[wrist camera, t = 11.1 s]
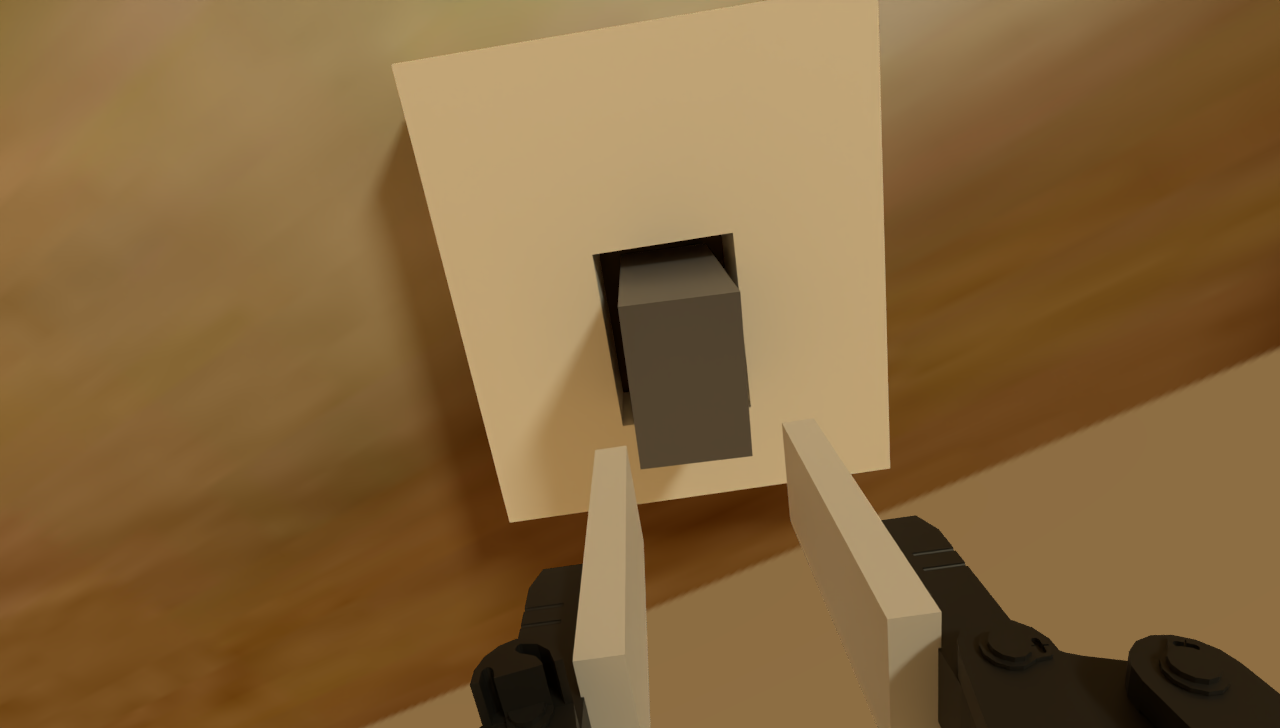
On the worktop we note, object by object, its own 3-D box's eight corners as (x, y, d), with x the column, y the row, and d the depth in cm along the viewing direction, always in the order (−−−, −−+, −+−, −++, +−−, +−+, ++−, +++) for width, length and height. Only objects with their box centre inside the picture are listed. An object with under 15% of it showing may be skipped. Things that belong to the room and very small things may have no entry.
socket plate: (842, 3, 27) (877, -18, 23) (860, 431, 33) (890, 468, 30) (423, 74, 27) (391, 64, 24) (522, 480, 34) (509, 522, 30)
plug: (705, 243, 30) (740, 291, 21) (716, 362, 32) (752, 455, 23) (621, 254, 30) (617, 307, 21) (637, 372, 32) (640, 469, 23)
